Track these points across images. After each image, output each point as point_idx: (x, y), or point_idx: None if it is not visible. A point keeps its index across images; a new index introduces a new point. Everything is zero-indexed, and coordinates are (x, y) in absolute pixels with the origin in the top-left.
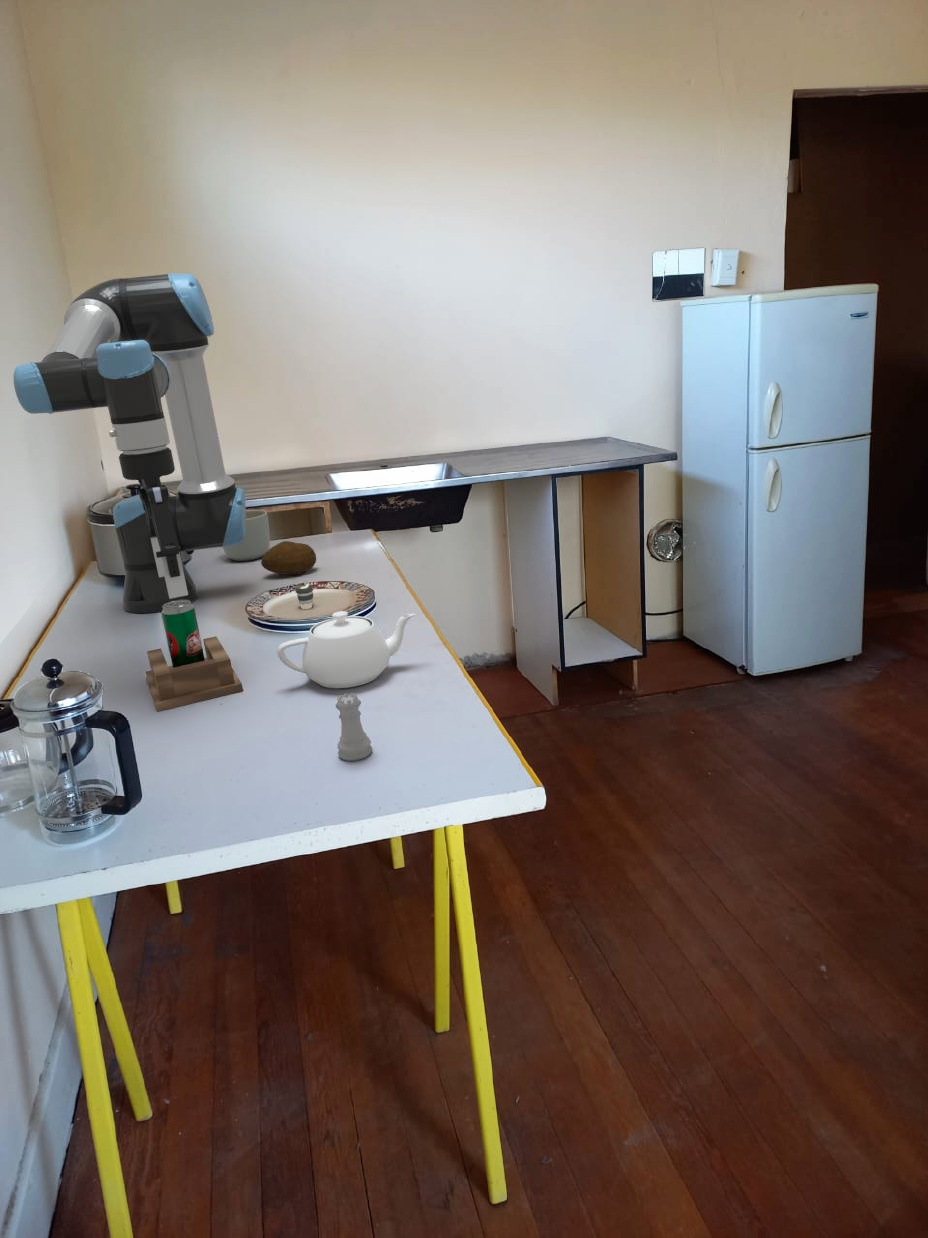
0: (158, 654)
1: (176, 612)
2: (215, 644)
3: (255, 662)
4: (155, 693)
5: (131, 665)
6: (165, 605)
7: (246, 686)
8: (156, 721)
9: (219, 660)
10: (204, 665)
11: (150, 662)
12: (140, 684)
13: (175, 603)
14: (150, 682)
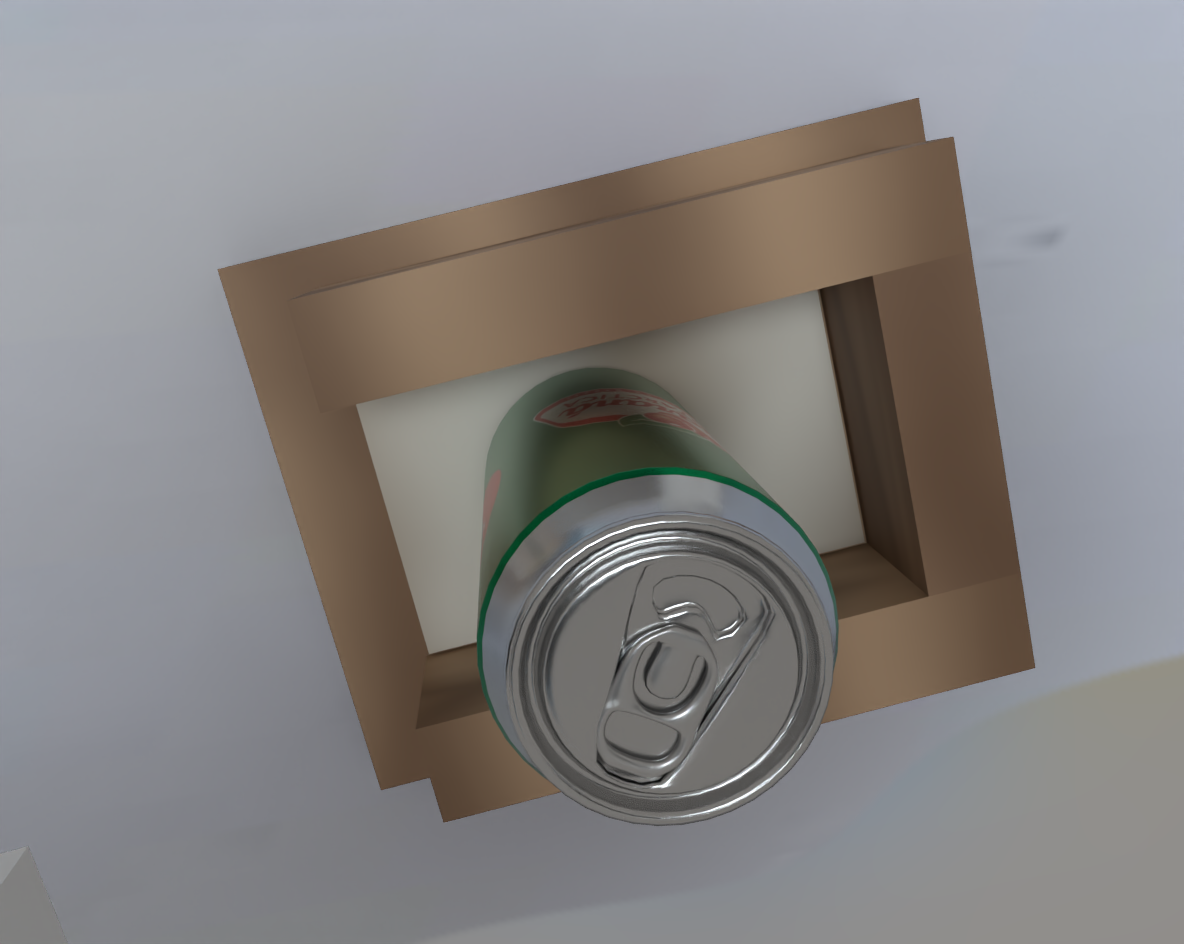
0: None
1: (834, 641)
2: (516, 290)
3: (365, 27)
4: None
5: (84, 908)
6: (623, 798)
7: (825, 83)
8: (1116, 593)
9: (934, 226)
10: (983, 338)
11: None
12: None
13: (633, 692)
14: None
